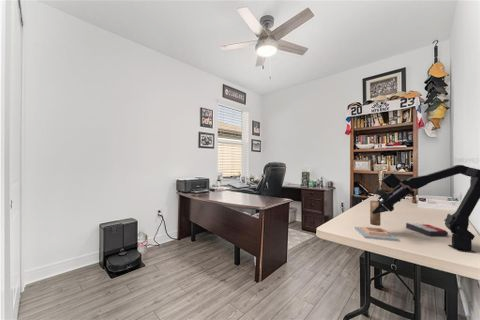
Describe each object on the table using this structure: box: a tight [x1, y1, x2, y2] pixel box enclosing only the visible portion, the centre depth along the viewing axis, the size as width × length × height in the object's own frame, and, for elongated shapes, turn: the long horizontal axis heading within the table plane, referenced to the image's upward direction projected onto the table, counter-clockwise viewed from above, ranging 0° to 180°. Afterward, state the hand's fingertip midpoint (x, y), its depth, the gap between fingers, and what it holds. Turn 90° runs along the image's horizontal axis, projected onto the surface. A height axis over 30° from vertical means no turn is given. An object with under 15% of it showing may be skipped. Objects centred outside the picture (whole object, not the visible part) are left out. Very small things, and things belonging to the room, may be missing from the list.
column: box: [369, 200, 381, 227], centre depth 111 cm, size 5×5×13 cm
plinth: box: [354, 225, 400, 242], centre depth 111 cm, size 16×16×2 cm
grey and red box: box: [405, 221, 449, 238], centre depth 117 cm, size 11×4×15 cm
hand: (372, 212), depth 112 cm, fingers closed on column, 5 cm apart
